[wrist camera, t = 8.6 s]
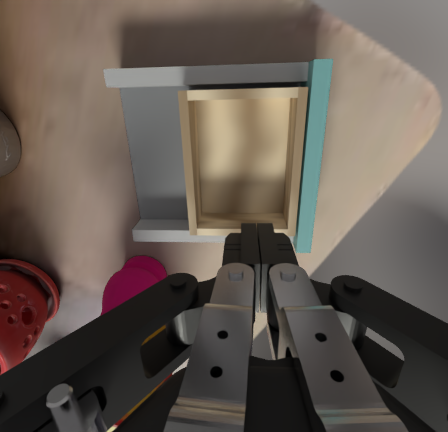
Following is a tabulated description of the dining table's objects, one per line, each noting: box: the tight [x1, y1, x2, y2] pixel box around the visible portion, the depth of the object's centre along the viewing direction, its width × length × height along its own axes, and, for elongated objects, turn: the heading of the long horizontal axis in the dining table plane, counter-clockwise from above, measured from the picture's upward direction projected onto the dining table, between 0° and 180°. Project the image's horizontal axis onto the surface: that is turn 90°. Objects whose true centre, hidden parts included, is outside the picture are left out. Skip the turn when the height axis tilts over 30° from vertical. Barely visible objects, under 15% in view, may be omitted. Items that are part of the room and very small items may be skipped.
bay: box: [103, 59, 333, 253], centre depth 29 cm, size 20×18×6 cm
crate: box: [178, 87, 308, 236], centre depth 29 cm, size 11×14×5 cm
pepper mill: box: [101, 256, 167, 315], centre depth 30 cm, size 7×7×20 cm
